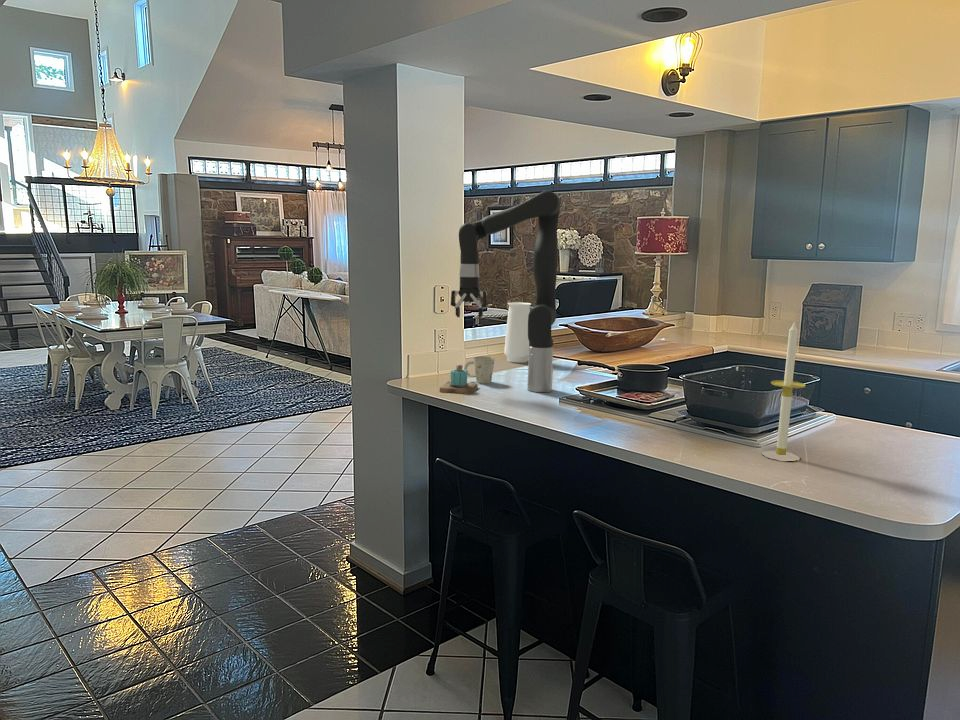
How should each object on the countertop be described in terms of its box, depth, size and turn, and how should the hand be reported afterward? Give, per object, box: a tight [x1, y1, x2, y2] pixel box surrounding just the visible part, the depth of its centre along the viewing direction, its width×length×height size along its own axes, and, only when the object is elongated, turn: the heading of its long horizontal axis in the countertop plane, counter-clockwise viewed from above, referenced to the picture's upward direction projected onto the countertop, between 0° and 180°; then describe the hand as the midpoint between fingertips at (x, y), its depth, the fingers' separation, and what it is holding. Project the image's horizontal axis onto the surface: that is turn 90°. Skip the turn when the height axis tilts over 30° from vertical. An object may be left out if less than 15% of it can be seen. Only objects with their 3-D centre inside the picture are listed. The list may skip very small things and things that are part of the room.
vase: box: [503, 301, 532, 364], centre depth 324 cm, size 13×13×28 cm
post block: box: [439, 364, 479, 395], centre depth 258 cm, size 12×12×10 cm
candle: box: [770, 319, 806, 455], centre depth 181 cm, size 10×10×38 cm
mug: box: [463, 355, 496, 384], centre depth 274 cm, size 8×13×10 cm, turn 78°
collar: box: [450, 369, 468, 385], centre depth 258 cm, size 6×6×5 cm
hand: (469, 317), depth 263 cm, fingers open, 8 cm apart
